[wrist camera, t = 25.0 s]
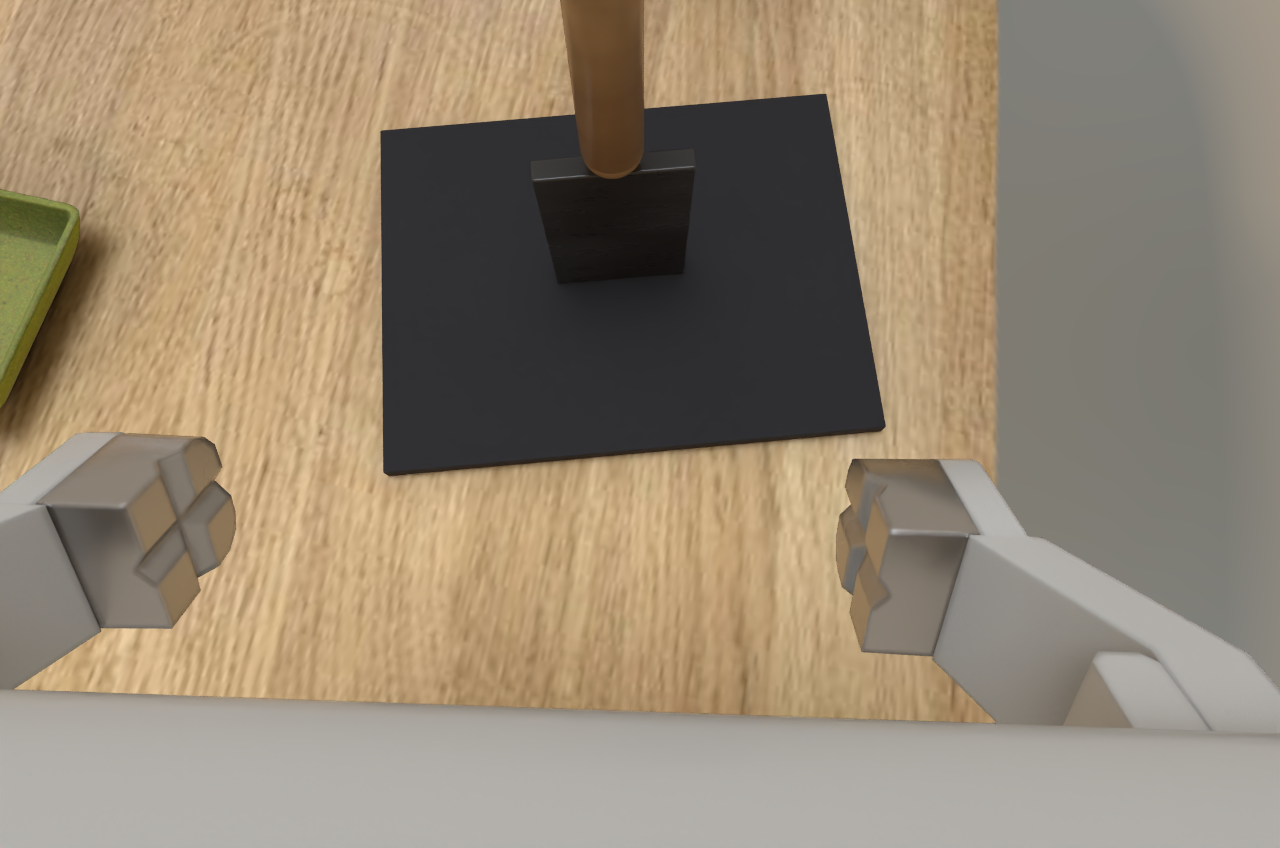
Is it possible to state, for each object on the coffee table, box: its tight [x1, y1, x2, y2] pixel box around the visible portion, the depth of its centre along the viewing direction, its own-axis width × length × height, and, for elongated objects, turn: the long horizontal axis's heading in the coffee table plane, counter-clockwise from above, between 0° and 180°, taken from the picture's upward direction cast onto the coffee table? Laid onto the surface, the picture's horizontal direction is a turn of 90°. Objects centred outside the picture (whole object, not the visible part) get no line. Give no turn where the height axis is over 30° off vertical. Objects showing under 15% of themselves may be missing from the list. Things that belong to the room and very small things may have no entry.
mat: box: [381, 94, 886, 476], centre depth 30 cm, size 18×14×1 cm
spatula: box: [531, 0, 696, 284], centre depth 19 cm, size 5×2×21 cm, turn 95°
